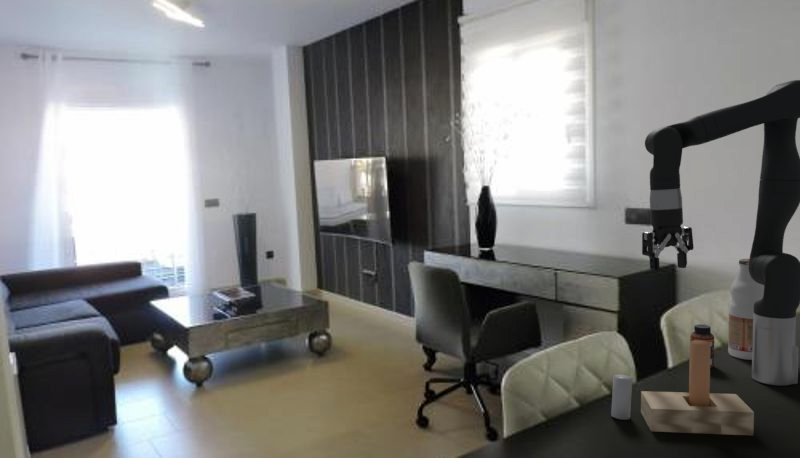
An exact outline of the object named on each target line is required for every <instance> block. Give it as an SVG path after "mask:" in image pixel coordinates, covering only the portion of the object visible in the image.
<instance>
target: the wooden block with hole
mask: <svg viewBox="0 0 800 458" xmlns="http://www.w3.org/2000/svg"><path fill="white" fill-rule="evenodd" d="M640 413H641V415H642V416H643V417H642V418H643V419H644V421H645V423H646V425H647V427H648V428H649V431H650V432H655V433H656V432H657V433H658V432H659V433H660V432H661V433H663V432H664V433H683V434H685V433H686V434H708V435H710V434H711V435H712V434H713V435H733V436H754V431H755V430H754V429H755V428H754V427H755V426H754V425H755V412H754V410H752V408H750V407H749V406H748V405H747V404H746V402H744V400H743V399H741V398H740V397H739V395H738V394H736V393H717V392H716V393H715V392H714V393H711V392H710V404H709V407H705V406H689V392H681V391H680V392H679V391H649V390H648V391H646V390H644V391H643V390H641V391H640Z"/></svg>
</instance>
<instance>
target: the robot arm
mask: <svg viewBox="0 0 800 458" xmlns="http://www.w3.org/2000/svg"><path fill="white" fill-rule="evenodd" d="M799 119H800V79H796V80H790V81H789V80H788V81H786V82H782V83H778V84H776V85H774V86H773V87H771V88H770V89H769V90H768V91H767V93H766V94H765V95H763V96H760V97H758V98H755V99H752V100H749V101H746V102H743V103H738V104H735V105H730V106H727V107H723V108H719V109H716V110H711V111H709V112H706V113H703V114H700V115H697V116H694V117H691V118H688V119H687V120H684V121H682V122H678V123H674V124H670V125H666V126H663V127H660V128H657V129H653V130H652V131H650V132H649V133H648V134H647V135H646V138H645V139H644V147H645V149H646V151H647V152H648V153H649V154H650V155H652V156H653V162H652V164H653V165H652V168H651V169H650V171H649V187H650V193H649V211H650V213H649V215H650V226H651V227H652V231H651V232H650V231H649V232H647V231H643V232H642V234H641V238H642V239H641V255H642V256H646V257H648V258H649V269H650V271H651V272H653V273H659V272H660V258H659V256H660V254H661V252H663V251H664V249H665V248H669V247H673V248H674V249H675V250H676V252H677V253H676V256H677V257H676V259H677V267H678V268H679V269H680V268H681V269H685V268H687V265H688V255H687V254H688V253H689V251H693V250H694V239H693V228H692V227H690V226H689V227H688V226H682V225H683V224H684V218H683V217H684V216H683V214H684V212H683V196H682V192H681V191H682V190H681V175H680V173H681V172H680V167H681V165H682V164H681V163H682V158H683V157H682V156H683V150H684V149H686V148H688V147H692V146H693V147H695V146H699V145H703V144H706V143H708V142H712V141H713V142H714V141H715V140H716V141H717V140H718V139H721V138H724V137H728V136H731V135H733V134H736V133H739V132H741V131H745V130H747V129H749V128H753V127H756V126H759V125H763V148H762V155H761V157H762V158H761V169H760V176H759V182H758V183H759V188H758V200H757V210H756V211H757V212H756V220H755V230H754V236H753V241H752V245H751V248H750V249H751V250H750V254H749V258H748V259H749V273H750V276H751V278H752V279H753V280H754V281H755V282H757V283H759V284H762V285H764V294H763V298H762V299H761V300H757V301H756V302H755V303H754V310H753V349H752V360H751V378H752V379H753V380H755V381H756V382H759V383H762V384H765V385H772V386H790V385H797V384H798V381H799V379H798V378H799V377H798V375H799V353H800V352H799V350H800V349H799V347H798V346H797V345H796V330H797V329H796V324H797V310H798V308H799V306H800V260H799V259H798V258H797V257H796V256H794V255H792V254H790V253H786V252H783V250H784V238H785V233H786V230H787V228H788V225H789V223H790V221H791V219H792V218H793V216H794V215H795V213H796V212H797V210H798V208H799V206H800V154H799V150H798V148H797V140H796V134H797V133H796V132H797V125H798V121H799Z"/></svg>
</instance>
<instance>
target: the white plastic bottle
mask: <svg viewBox="0 0 800 458" xmlns="http://www.w3.org/2000/svg"><path fill="white" fill-rule="evenodd" d="M738 266H739V269H738V272H737V274H736V275H735V278H734V280H733V282H732V283H731V285H730V286H729V295H730V297H731V300H730V303H729V307H728V333H727V334H728V338H727V339H728V340H727V342H728V344H727V346H728V347H727V351H728V354H729V355H730V356H731V357H734V358H736V359H741V360H748V361H749V360H750V361H752V349H753V310H754V303H755V302H756V301H757V300H761V299H762V298H763V294H764V285H762V284H759V283H757V282H755V281H754V280H753V279H752V278H751V276H750V273H749V258H740V259H739V260H738Z"/></svg>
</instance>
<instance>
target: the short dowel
mask: <svg viewBox="0 0 800 458" xmlns="http://www.w3.org/2000/svg"><path fill="white" fill-rule="evenodd" d="M612 380H613V381H612V397H611V410H610V411H611V412H610V416H611V417H613V418H614V419H617V420H624V421H627V420H630V419H631V409H632V408H631V407H632V406H631V404H632V392H633V391H632V390H633V377H632V376H630V375H627V374H617V373H616V374H614V375H613V377H612Z"/></svg>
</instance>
